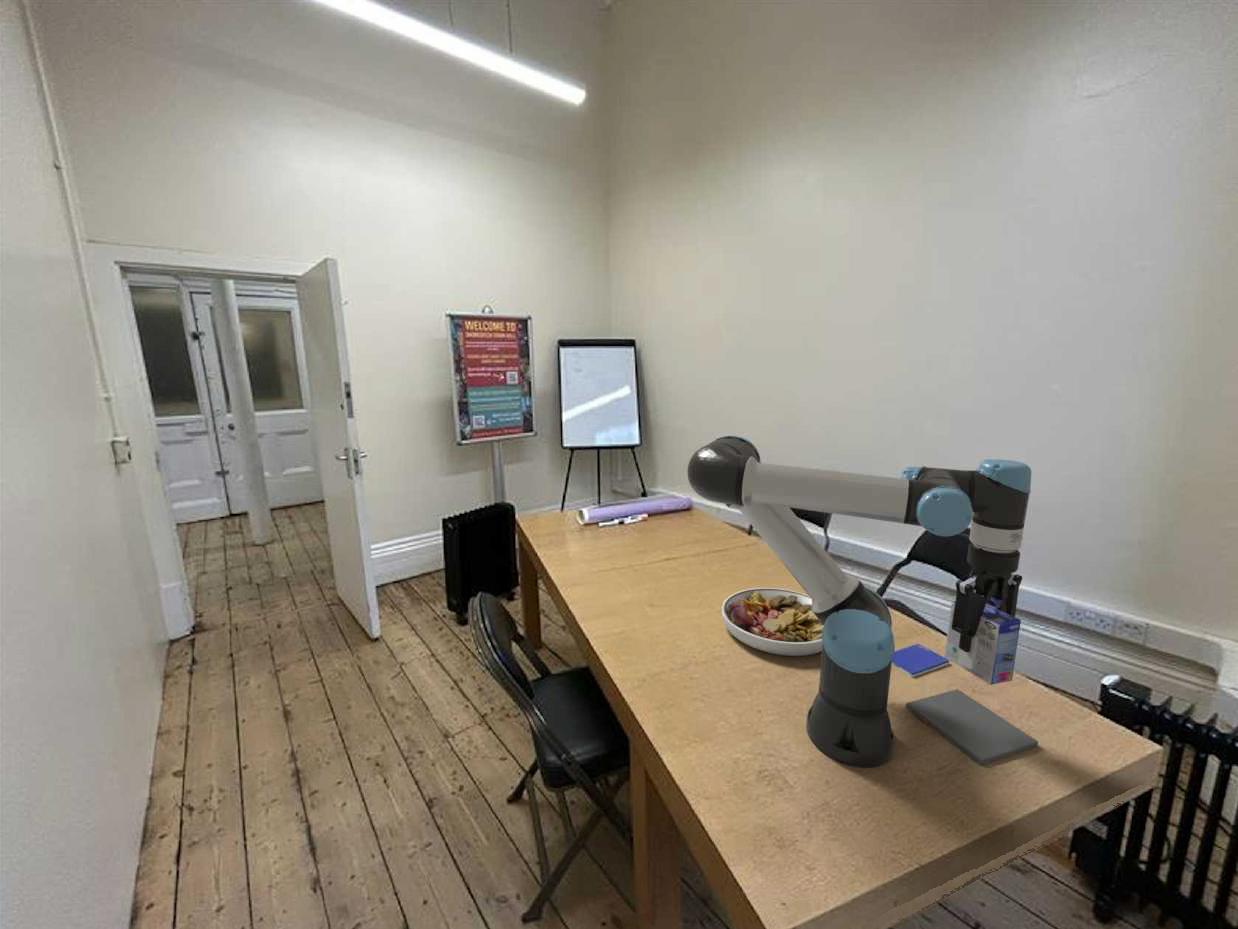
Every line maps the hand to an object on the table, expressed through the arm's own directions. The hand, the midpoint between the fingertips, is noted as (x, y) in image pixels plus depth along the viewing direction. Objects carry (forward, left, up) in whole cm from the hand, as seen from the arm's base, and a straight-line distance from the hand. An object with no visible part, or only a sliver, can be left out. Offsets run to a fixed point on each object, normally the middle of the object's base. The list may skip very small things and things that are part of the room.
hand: (977, 662), depth 97 cm
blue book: (+8, +20, -15) cm, 26 cm away
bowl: (-13, +43, -14) cm, 47 cm away
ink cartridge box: (0, 0, -2) cm, 2 cm away
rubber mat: (0, 0, -14) cm, 14 cm away
